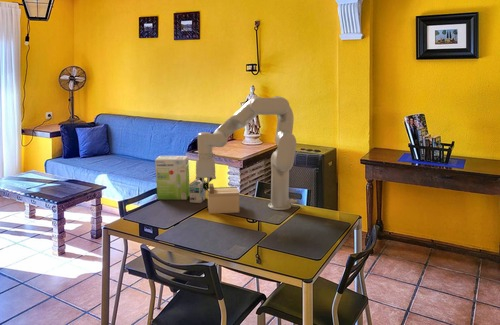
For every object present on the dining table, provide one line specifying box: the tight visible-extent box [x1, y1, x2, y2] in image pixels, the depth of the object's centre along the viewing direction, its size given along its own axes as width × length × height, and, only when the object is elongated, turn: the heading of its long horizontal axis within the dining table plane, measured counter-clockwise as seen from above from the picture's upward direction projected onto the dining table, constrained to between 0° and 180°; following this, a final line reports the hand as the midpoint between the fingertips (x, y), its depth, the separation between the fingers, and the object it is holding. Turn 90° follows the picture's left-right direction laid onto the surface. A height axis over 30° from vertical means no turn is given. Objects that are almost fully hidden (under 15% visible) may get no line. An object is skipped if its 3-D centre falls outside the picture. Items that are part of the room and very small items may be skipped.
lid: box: [207, 183, 239, 195], centre depth 221 cm, size 16×10×4 cm, turn 99°
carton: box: [207, 186, 240, 215], centre depth 223 cm, size 16×12×11 cm
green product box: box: [154, 155, 190, 200], centre depth 241 cm, size 18×10×24 cm, turn 88°
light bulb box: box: [189, 179, 207, 204], centre depth 238 cm, size 11×7×11 cm, turn 168°
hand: (206, 189), depth 220 cm, fingers closed
